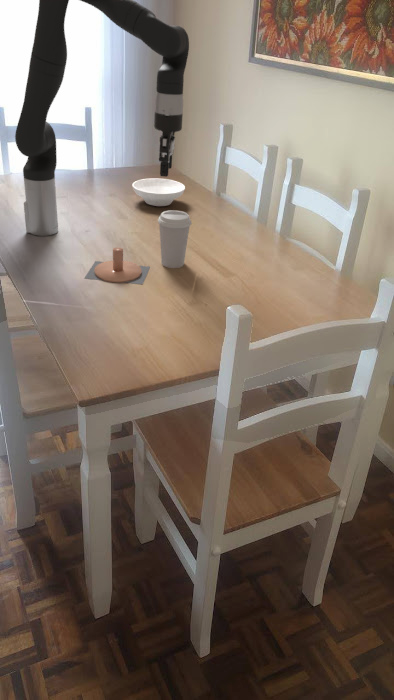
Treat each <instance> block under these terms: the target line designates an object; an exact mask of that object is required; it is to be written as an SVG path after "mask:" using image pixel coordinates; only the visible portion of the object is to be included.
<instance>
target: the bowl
mask: <svg viewBox="0 0 394 700" xmlns="http://www.w3.org/2000/svg"><path fill="white" fill-rule="evenodd" d="M131 185H132V189H133V191H134V192H135V194H136V195H137V196H139V197H140V198H142V199H143V201H144V202H145V203H146V204H147V205H150V206H154V207H155V206H156V207H166V206H170V205H171V204H172V203H173V201H174V200H176V199H179V198H180V197H182V195H183V194H184V192H185V189H186V186H185V184H183V183H182V182H179V181H176V180H174V179H168V178H156V177H155V178H154V177H153V178H151V177H150V178H143V179H138V180H136V181H134V182H133V183H132V184H131Z"/></svg>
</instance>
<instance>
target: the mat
mask: <svg viewBox="0 0 394 700" xmlns="http://www.w3.org/2000/svg"><path fill="white" fill-rule="evenodd" d="M103 262H104V261H98V260H95V261H94V263H93V264H92V266H91V267H90V268H89V270H88V271H87V273H86V275H85V277H84V279H86V280H87V279H88V280H96V281H105V280H102V279H100V278H98V277H97V276H96V275H95V272H94V269H95V267H96V266H97V265H98V264H100V263H103ZM137 265H138V266H140V267H141V269H142V274H141V276H140V277H139V278H137V279H135V280H132V281H128V282H122V283H124V284H125V283H126V284H135V285H144V282H145V280H146V278H147V275H148V273H149V270H150V268H151V266H147V265H139V264H137ZM105 282H106V281H105Z"/></svg>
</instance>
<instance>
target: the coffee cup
mask: <svg viewBox="0 0 394 700" xmlns="http://www.w3.org/2000/svg"><path fill="white" fill-rule="evenodd" d="M157 223H158V224H159V237H160V238H159V240H160V242H159V243H160V256H161V257H160V258H161V259H160V260H161V265H162V266H164V267H165V268H168V269H169V268H170V269H178V268H180V269H181V268H183V266H184V264H185V259H186V253H187V245H188V240H189V239H188V238H189V232H190V227H191V225H192V224H193V223H192V220H191V218H190V215H189V214H188V213H187V212H186V211H182V210H174V209H173V210H171V209H170V210H164V211H163V212H161V213H160V215H159V217H158V219H157Z"/></svg>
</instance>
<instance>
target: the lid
mask: <svg viewBox="0 0 394 700" xmlns="http://www.w3.org/2000/svg"><path fill="white" fill-rule="evenodd" d="M102 262H103V263H100V264H98V265H97V266H96V267H95V269H94V272H95V275H96V276H97V277H98V278H100V279H102V280H101V281H104V280H105V282H110V283H111V282H112V283H123V282H128V281H132V280H135V279H137V278H139V277H140V276H141V274H142V269H141V267H140V266H141V265H139V264H136V263H135V262H131V261H128V260H124V248H122V247H113V248H112V260H107V261H102ZM138 265H139V266H138Z"/></svg>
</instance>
